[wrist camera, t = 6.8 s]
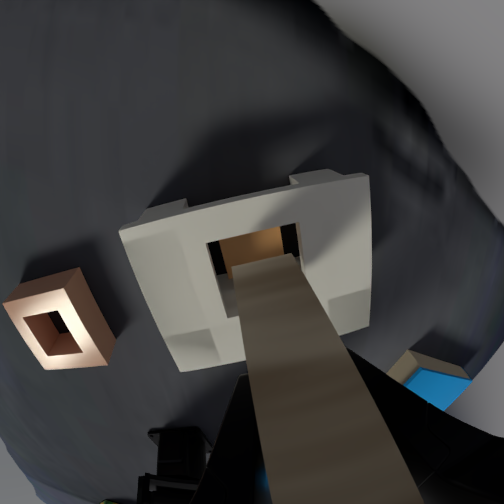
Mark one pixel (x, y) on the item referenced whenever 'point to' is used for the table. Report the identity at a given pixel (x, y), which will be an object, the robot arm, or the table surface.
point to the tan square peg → (312, 397)
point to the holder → (72, 312)
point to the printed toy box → (107, 502)
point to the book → (430, 378)
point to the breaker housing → (222, 288)
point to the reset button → (251, 247)
